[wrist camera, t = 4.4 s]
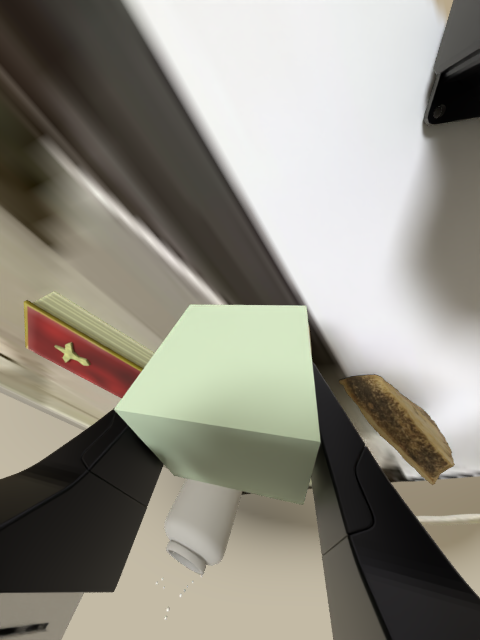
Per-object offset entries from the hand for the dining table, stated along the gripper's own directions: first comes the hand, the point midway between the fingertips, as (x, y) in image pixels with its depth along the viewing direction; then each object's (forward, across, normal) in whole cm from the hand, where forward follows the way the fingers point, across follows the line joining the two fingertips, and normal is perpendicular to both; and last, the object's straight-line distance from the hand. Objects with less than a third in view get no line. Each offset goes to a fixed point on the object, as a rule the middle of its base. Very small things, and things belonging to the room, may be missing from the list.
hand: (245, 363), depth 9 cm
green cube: (+1, 0, 0) cm, 1 cm away
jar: (+12, +17, +57) cm, 61 cm away
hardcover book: (+12, +25, +14) cm, 31 cm away
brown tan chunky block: (+12, -14, +18) cm, 26 cm away
